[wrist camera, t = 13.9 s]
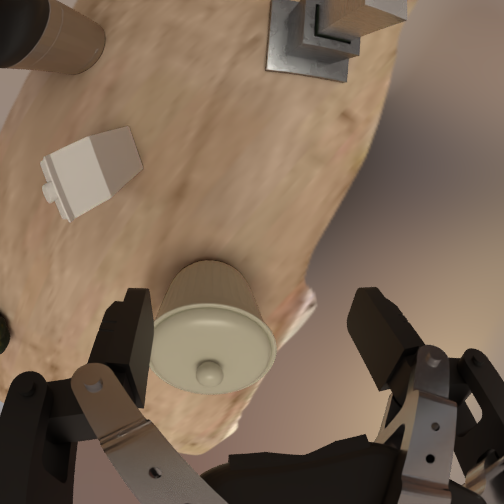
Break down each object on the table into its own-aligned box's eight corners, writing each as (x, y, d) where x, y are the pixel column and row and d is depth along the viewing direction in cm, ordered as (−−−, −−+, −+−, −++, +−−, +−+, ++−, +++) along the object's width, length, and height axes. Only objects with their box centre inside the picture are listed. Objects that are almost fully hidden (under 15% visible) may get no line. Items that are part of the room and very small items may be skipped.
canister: (140, 292, 51) (113, 383, 33) (202, 220, 46) (194, 302, 28) (216, 340, 58) (220, 430, 40) (281, 282, 53) (312, 373, 35)
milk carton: (129, 125, 38) (71, 140, 21) (144, 168, 41) (98, 210, 25) (89, 143, 38) (19, 171, 21) (104, 184, 42) (45, 233, 25)
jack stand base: (265, 70, 37) (279, 59, 27) (270, 1, 31) (285, -26, 22) (342, 82, 38) (375, 78, 29) (347, 16, 33) (378, -2, 23)
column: (307, 40, 29) (365, 4, 15) (309, 14, 27) (364, -32, 13) (337, 46, 30) (407, 20, 16) (338, 20, 28) (406, -16, 14)
